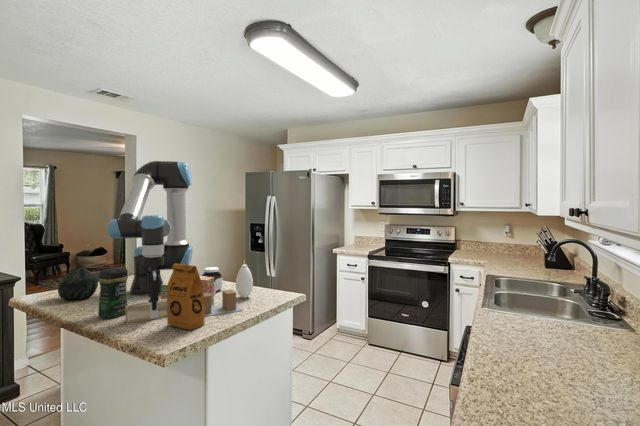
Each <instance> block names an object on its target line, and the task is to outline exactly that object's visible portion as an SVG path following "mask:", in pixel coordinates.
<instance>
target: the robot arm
mask: <svg viewBox="0 0 640 426" xmlns="http://www.w3.org/2000/svg"><path fill="white" fill-rule="evenodd" d="M131 182H132V184H131V187H130V190H129V192H128V195H127V197H126V200H125V202H124V204H123V207H122V210H121V212H120V214H119V216H118V218H115V219H111V220H109V221H108V223H107V233H108V235H109V237H111V239H138V238H139V239H140V238H141V245H139V246H137V247H135V248H134V250H133V279H132V282H131V284H130V287H129V294H130V295H135V296H146V295H147V296H148V301H147V302H150V319H151V320H155V319H154V318H156V319H159V318H158V300H160V298H159V293H161V285H162V284H164V282H163V279H162V276H161V271H162V270H163V271H164V270H165V271H166V270H170V271H171V270H172V271H173V270H174V268H172V266H173V265H174V264H184V265H191V263H192V258H193V250H194V249H193V246H192V245H190V242H189V241H188V240H187V234H186V232H187V231H186V230H187V229H186V228H187V227H186V217H187V216H186V192H187V191H188V190H189V187H190V186H192V184H193V179H192V170H191V169H190V165H189V163H187V162H185V161H184V162H183V161H168V160H167V161H161V160H160V161H159V160H153V161H150V162H149V161H148V162H147V163H145V164H143V165H141V166H140V167H139V168H138V169H137V170H136V171H135V173H134V174H133V176H132V179H131ZM155 186H162V189H163V190H164V191H165V192H166V219H164V216H163V215H160V214H159V215H158V214H157V215H156V214H155V215H154V214H153V215H152V214H151V215H150V214H149V215H148V214H147V215H143V216H142V214H143V211H144V208H145V206H146V203H147V199H148V197H149V194H150V192H151V190H152V189H153V188H154V187H155ZM164 237H165V238H166V241H165V239H164ZM164 241H165V242H164Z"/></svg>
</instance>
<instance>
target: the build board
mask: <svg viewBox="0 0 640 426" xmlns="http://www.w3.org/2000/svg"><path fill="white" fill-rule="evenodd" d="M204 302H205V310H204V318H205V317H211V316H218V315H219V316H220V315H224V314H225V315H226V314H230V313H237V312H242V311H243V309H242V308H241V307H240V306H238V304H237V291H235V290H234V289H225V290H222V303H221V304H222V305H219V306H218V305H217V306H211V295H210V294H209V293H208V292H207V293H204Z"/></svg>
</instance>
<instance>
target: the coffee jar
mask: <svg viewBox="0 0 640 426" xmlns="http://www.w3.org/2000/svg"><path fill="white" fill-rule="evenodd" d="M128 272H129V271H128V269H127V267H121V266H116V267H110V268H107V269H101V270H100V271H99V273H98V284H99V286H100V287H99V290H100V291H99V302H98V303H99V305H98V312H97V313H98V314H97V316H98V317H99V318H101V319H104V320H106V319H114V318H118V317H120V316H123V315H126V306H127V305H129V304H128V295H127V281H128V277H129V275H128Z"/></svg>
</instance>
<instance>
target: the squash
mask: <svg viewBox="0 0 640 426" xmlns="http://www.w3.org/2000/svg"><path fill="white" fill-rule="evenodd" d="M98 285H99V279H98V277H97V276H96V275H95V274H94V273H93V272H91V271H90V270H89V269H87V268H85V267H79V268H77V269H74V270H72V271H69V272H67V273H66V274H64V275H63V276H62V278H61V279H60V280H59V283H58V285H57V286H58V287H57V292H58V293H57V294H58V296H59V297H60V298H61V299H63V300H64V301H65V300H73V299H74V300H78V299H79V300H86V299H88V298H91V297H92V296H93V295H94V294H95V293H96V290H97V288H98V287H99V286H98Z"/></svg>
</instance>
